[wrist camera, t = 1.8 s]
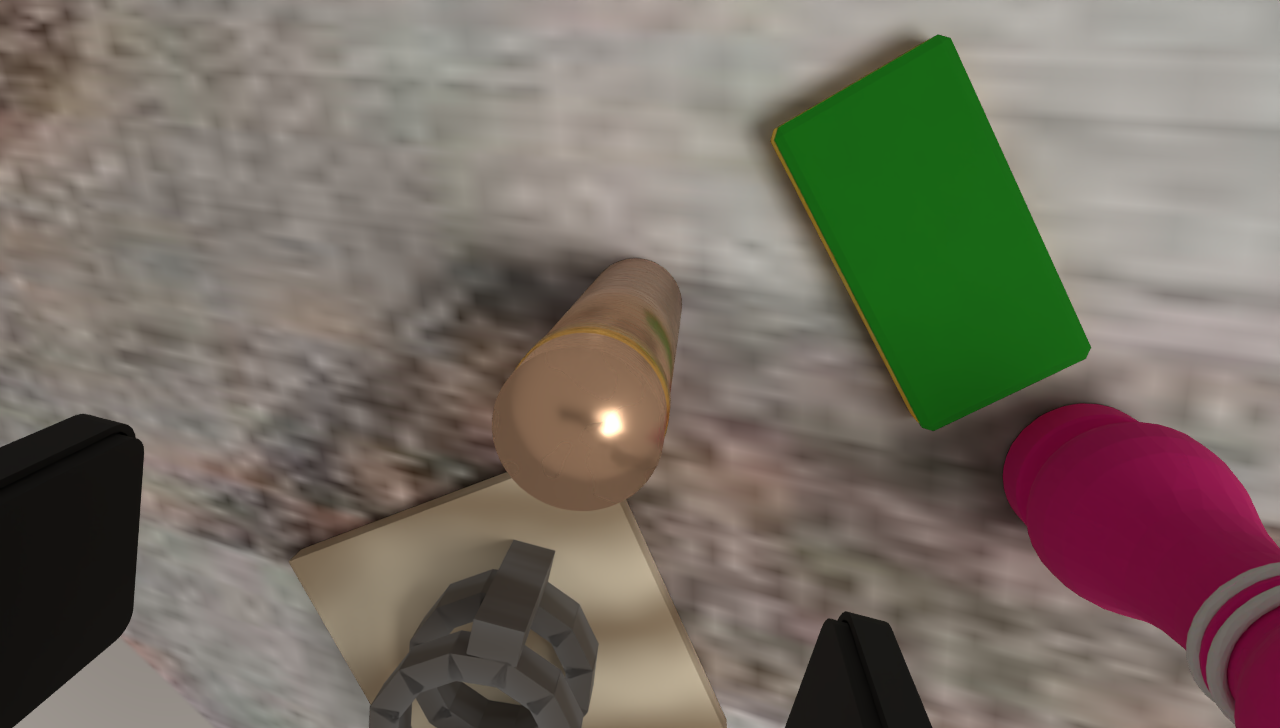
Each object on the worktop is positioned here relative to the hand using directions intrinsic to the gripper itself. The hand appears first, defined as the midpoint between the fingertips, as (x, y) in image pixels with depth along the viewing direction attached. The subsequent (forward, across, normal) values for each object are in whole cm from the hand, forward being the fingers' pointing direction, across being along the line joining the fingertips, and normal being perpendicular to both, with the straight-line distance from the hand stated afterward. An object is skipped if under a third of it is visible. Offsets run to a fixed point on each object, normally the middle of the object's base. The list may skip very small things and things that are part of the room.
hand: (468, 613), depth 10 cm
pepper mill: (+24, -21, +2) cm, 32 cm away
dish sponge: (+24, -11, -5) cm, 27 cm away
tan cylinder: (+24, 0, 0) cm, 24 cm away
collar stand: (+24, +1, +18) cm, 30 cm away
